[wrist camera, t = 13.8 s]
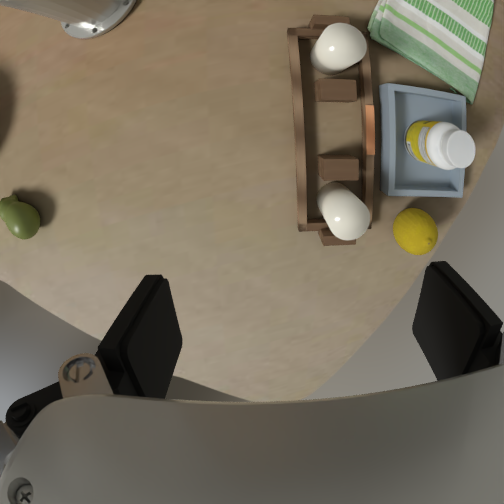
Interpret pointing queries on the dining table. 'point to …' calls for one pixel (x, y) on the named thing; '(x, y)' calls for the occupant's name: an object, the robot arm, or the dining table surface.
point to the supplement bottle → (439, 144)
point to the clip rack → (332, 92)
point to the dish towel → (437, 37)
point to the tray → (393, 149)
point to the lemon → (415, 231)
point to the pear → (19, 217)
